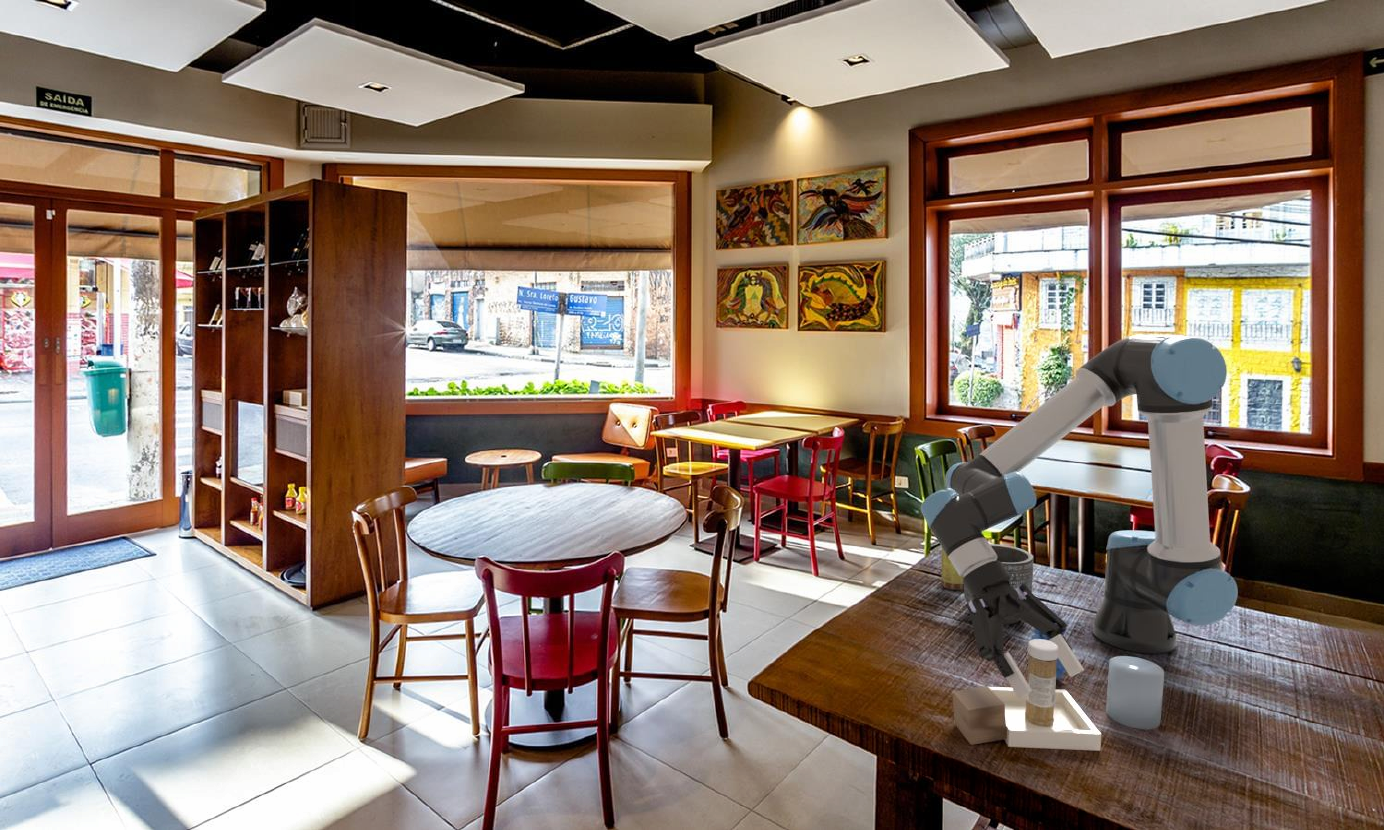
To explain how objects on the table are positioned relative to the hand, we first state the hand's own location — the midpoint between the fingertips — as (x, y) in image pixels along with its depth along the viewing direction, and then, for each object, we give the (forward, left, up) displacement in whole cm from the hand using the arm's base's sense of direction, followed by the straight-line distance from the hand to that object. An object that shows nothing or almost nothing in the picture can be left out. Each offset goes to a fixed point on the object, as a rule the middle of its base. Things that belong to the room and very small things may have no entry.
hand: (1052, 683), depth 121 cm
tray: (+1, -2, -8) cm, 8 cm away
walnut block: (+12, +2, -8) cm, 14 cm away
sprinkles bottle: (+1, -2, -8) cm, 8 cm away
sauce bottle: (-1, -66, -8) cm, 66 cm away
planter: (-6, -48, -8) cm, 49 cm away
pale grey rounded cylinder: (-16, -7, -8) cm, 19 cm away
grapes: (-7, -21, -8) cm, 23 cm away
